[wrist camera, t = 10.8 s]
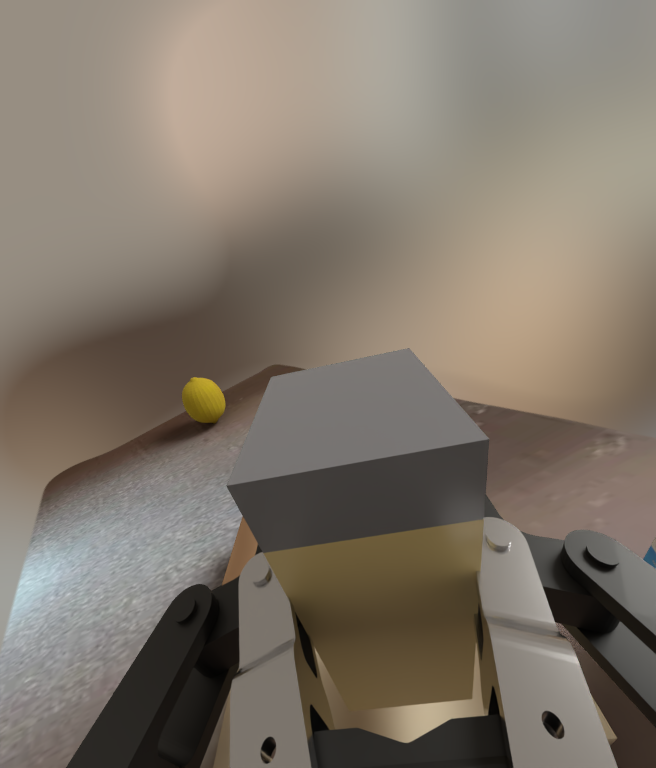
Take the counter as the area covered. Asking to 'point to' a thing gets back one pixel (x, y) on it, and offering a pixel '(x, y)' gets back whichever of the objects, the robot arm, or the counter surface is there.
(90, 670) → the counter surface
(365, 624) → the yellow block grey top
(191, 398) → the lemon
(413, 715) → the plywood panel
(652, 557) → the ink box
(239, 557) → the awl
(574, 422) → the counter surface
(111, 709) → the robot arm
